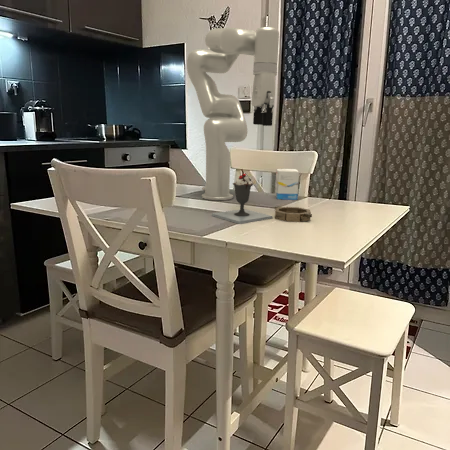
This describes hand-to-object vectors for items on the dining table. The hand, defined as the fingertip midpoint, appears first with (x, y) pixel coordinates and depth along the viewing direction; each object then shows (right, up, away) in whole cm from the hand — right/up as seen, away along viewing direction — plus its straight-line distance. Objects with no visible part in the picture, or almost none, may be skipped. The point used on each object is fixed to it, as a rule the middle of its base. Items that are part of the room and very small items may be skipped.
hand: (262, 125), depth 142 cm
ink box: (+13, -22, +36) cm, 44 cm away
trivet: (-7, -30, -2) cm, 31 cm away
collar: (+10, -31, -2) cm, 32 cm away
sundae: (-7, -30, -2) cm, 30 cm away
